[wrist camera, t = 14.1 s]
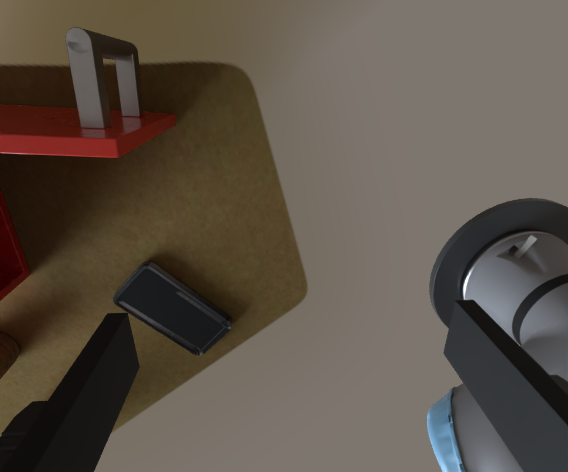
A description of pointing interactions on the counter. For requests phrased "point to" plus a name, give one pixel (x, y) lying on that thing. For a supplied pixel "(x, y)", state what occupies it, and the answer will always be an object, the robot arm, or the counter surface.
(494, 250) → the robot arm
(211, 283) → the counter surface
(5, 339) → the utensil holder
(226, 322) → the phone
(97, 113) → the red cabinet door
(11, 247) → the cabinet
